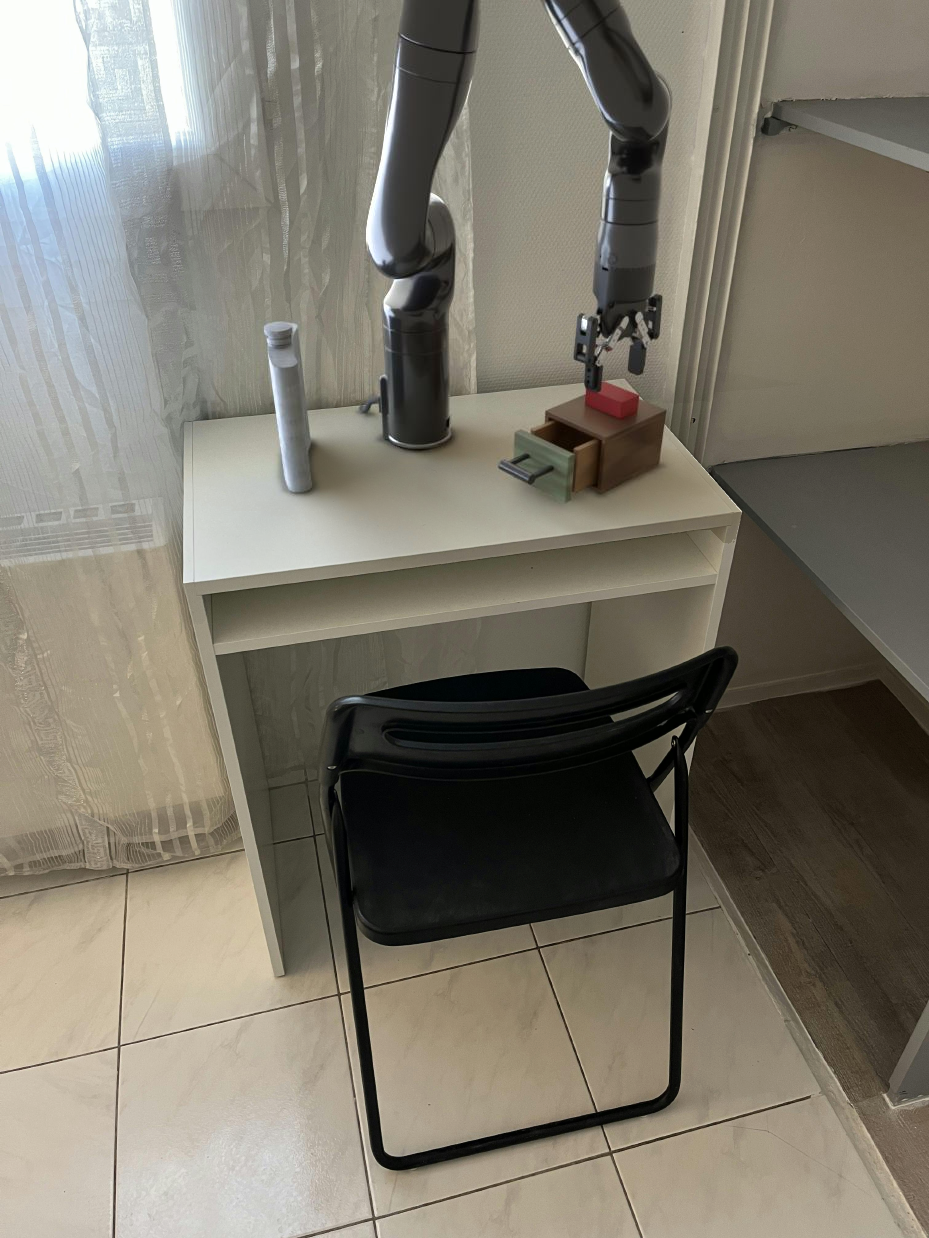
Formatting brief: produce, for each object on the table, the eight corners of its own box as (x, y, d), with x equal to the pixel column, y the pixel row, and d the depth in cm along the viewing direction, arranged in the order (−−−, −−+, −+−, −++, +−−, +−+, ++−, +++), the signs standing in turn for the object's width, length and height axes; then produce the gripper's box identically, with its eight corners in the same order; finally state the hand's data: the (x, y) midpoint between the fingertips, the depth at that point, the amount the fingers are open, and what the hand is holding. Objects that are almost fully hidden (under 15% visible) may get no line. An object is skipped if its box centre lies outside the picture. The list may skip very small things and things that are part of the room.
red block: (637, 411, 126) (639, 395, 125) (620, 419, 124) (622, 402, 123) (601, 397, 130) (603, 380, 128) (584, 404, 128) (585, 387, 126)
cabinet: (600, 494, 125) (606, 437, 120) (542, 466, 131) (545, 410, 126) (659, 465, 132) (666, 409, 126) (600, 439, 138) (605, 385, 133)
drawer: (538, 516, 119) (541, 469, 115) (486, 488, 125) (487, 443, 121) (622, 475, 127) (627, 430, 123) (570, 451, 133) (573, 407, 129)
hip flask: (312, 491, 126) (295, 347, 114) (281, 493, 125) (261, 348, 113) (310, 439, 138) (295, 303, 126) (283, 440, 138) (265, 305, 126)
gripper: (639, 239, 121) (627, 360, 131) (563, 261, 113) (556, 388, 123) (686, 251, 116) (670, 376, 126) (610, 275, 109) (599, 406, 119)
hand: (614, 382), depth 125 cm, fingers open, 8 cm apart
